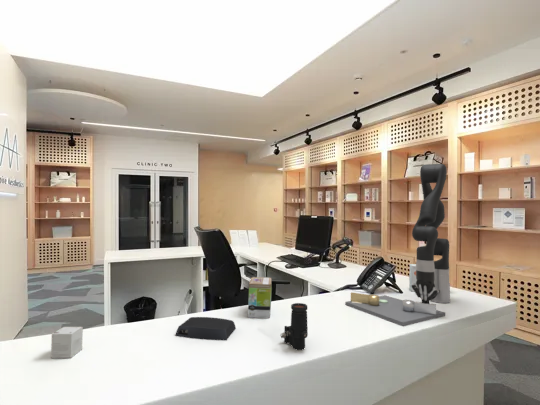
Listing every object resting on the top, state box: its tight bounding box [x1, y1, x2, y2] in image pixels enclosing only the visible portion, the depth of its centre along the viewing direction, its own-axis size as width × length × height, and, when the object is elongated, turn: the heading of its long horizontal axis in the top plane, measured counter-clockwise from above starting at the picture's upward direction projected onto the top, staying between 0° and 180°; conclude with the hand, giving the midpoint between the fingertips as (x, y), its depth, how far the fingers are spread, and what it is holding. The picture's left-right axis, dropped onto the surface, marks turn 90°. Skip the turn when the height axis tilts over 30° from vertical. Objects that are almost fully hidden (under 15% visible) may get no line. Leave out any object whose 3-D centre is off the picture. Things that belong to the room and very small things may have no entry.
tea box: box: [247, 276, 273, 319], centre depth 137 cm, size 15×10×15 cm
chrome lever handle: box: [402, 299, 437, 314], centre depth 136 cm, size 14×5×4 cm, turn 63°
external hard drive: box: [175, 316, 237, 341], centre depth 113 cm, size 13×19×4 cm
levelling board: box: [344, 294, 446, 327], centre depth 144 cm, size 29×33×2 cm
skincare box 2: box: [408, 263, 417, 293], centre depth 181 cm, size 21×6×16 cm, turn 81°
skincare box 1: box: [50, 326, 84, 359], centre depth 94 cm, size 6×6×7 cm
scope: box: [280, 302, 309, 351], centre depth 102 cm, size 8×14×10 cm
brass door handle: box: [350, 292, 380, 306], centre depth 149 cm, size 14×5×4 cm, turn 61°
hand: (425, 308), depth 137 cm, fingers closed
